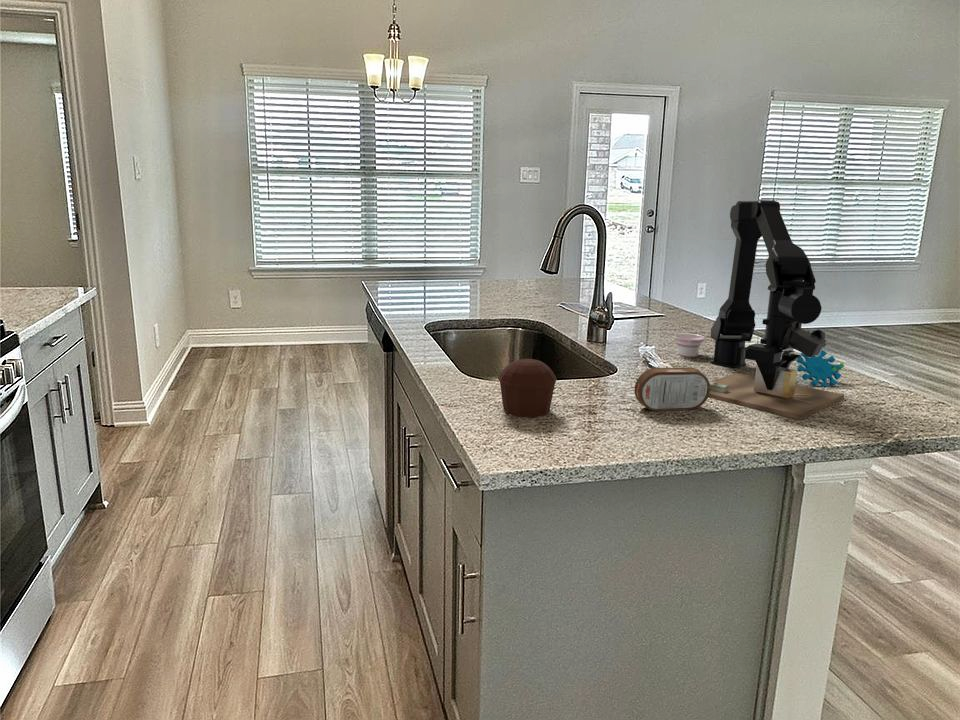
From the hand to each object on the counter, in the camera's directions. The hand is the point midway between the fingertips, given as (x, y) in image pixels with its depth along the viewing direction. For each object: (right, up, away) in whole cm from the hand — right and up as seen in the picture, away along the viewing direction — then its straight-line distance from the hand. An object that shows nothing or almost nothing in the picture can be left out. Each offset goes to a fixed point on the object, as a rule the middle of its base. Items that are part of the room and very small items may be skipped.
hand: (773, 388), depth 147 cm
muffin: (-53, -4, -10) cm, 54 cm away
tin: (-24, -4, -8) cm, 25 cm away
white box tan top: (0, -1, 0) cm, 1 cm away
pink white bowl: (-8, +6, +36) cm, 37 cm away
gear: (+16, -1, +11) cm, 19 cm away
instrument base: (-1, -2, +3) cm, 3 cm away
